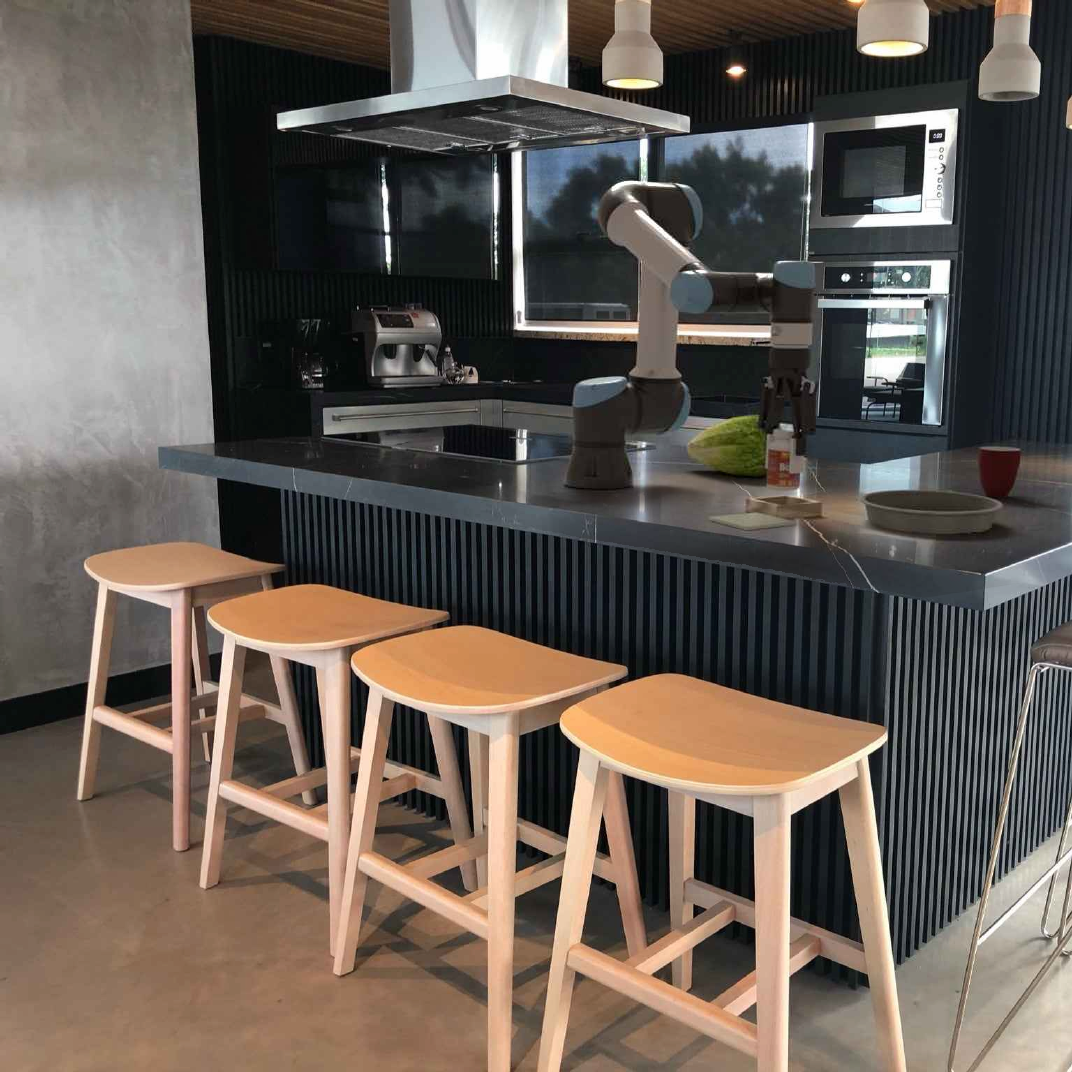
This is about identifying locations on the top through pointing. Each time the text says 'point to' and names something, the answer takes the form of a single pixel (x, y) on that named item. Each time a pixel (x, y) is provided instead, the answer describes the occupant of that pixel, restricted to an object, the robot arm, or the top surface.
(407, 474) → the top surface
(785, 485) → the pill bottle
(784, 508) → the pocket frame
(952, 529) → the cake pan
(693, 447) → the lettuce
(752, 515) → the coaster
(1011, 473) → the mug
